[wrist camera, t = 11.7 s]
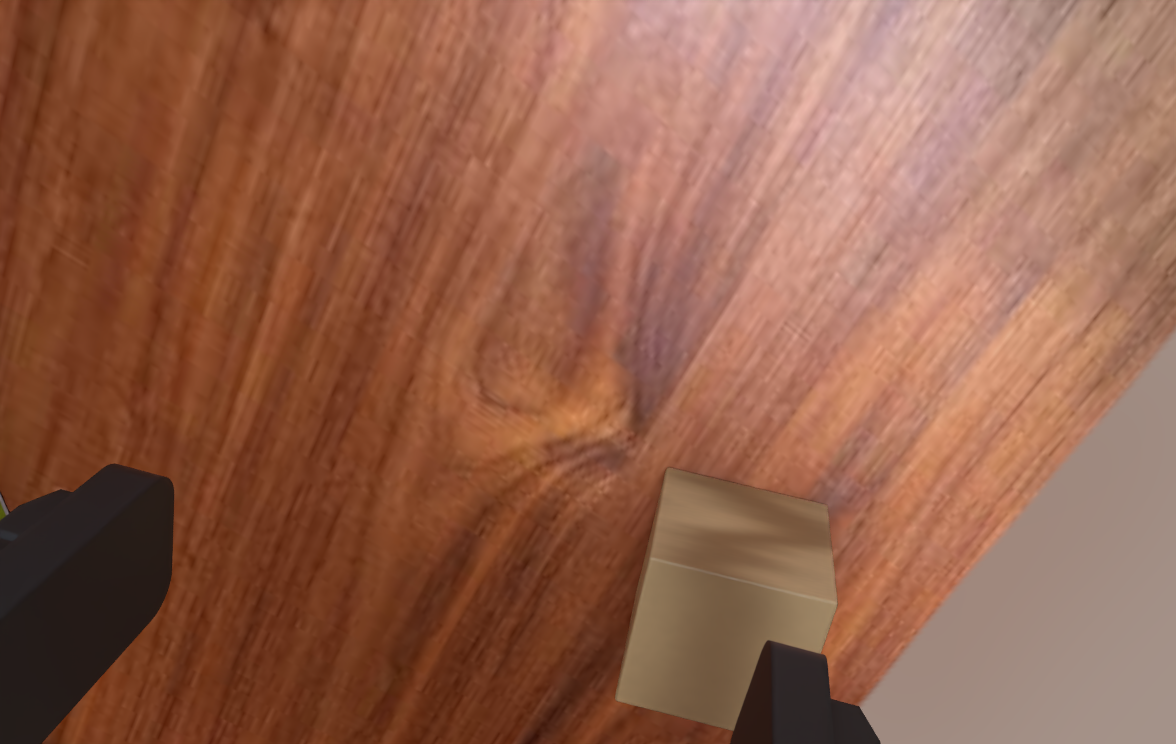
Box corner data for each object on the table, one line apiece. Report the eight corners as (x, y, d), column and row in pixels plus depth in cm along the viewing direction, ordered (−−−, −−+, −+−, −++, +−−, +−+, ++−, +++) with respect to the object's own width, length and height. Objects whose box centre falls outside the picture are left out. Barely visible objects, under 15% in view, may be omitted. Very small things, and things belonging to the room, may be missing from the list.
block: (828, 504, 30) (839, 603, 26) (785, 633, 32) (788, 746, 28) (666, 465, 31) (649, 557, 26) (635, 595, 33) (614, 701, 28)
